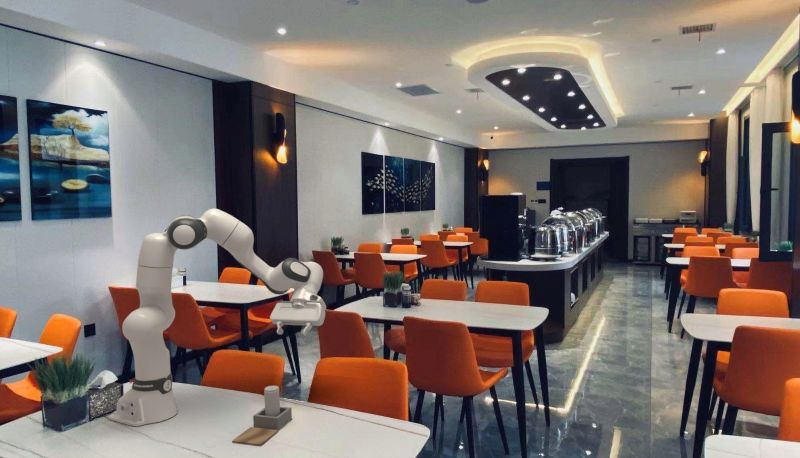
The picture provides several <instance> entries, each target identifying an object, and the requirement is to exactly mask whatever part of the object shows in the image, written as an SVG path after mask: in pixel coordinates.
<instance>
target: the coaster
mask: <svg viewBox="0 0 800 458" xmlns="http://www.w3.org/2000/svg"><path fill="white" fill-rule="evenodd" d="M278 433H279V430H271V429H263V428H254V426H250V427H249V428H247V429H246V430H244V431H243V432H242V433H241V434H239V435H237V436H236V437H235V438H234V439H232V442H231V443H232V444H240V445H248V446H256V447H262V446H263V445H264V444H266V443H267V442H268V441H269V440H271V438H273V437H274V436H276V434H278Z"/></svg>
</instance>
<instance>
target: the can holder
mask: <svg viewBox="0 0 800 458" xmlns="http://www.w3.org/2000/svg"><path fill="white" fill-rule="evenodd" d="M292 412H293V411H292V407H290V406H280V415H278V416H277V417H273V416H265V407H263V408H261V409H260V410H259V411H258V412H256V413H255V414H254V415H253V416H252V418H253V419H252V420H253V421H252V422H253V427H254V428H263V429H271V430H278V431H280V430H281V429H282V428H283V427H285V426H286V425H287V424H288V423H289V422H290V421H292V420H293V418H292V417H293V414H292Z"/></svg>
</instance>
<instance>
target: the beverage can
mask: <svg viewBox="0 0 800 458" xmlns="http://www.w3.org/2000/svg"><path fill="white" fill-rule="evenodd" d="M263 393H264V394H263V395H264V396H263V397H264V408H265V416H273V417H277V416H278V415H280V407H281V402H280V400H281V399H280V398H281V397H280V388H279V385H268V386H266V387H264V391H263Z"/></svg>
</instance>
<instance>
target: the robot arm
mask: <svg viewBox="0 0 800 458" xmlns="http://www.w3.org/2000/svg"><path fill="white" fill-rule="evenodd" d="M206 239H209V240H211V241H212V242H214V243H216V244H217V245H219V246H220V247H222V248H224V249H225V250H226V251H228V252H229V254H231V256H233V258H234V260H235V261H236V262H238V263H239V265H241V266H242V268H244V269H246V270H247V271H248V272H250V274H252V275H253V276H255V277H256V278H257V279H258V280H260V282H261V283H262V284H263V286H265V288H266V289H267V290H268V291H269V292H271V294H274V295H284V294H285V293H287V292H288V291H289V290H290V289H291V288H293V289H294V290H293V292H292V295H291V298H290V300H281V301H279V302H277V303H276V304H275V306H274V308H273V310H272V312H271V314H270V315H269V320H270V321H271V323H272V324H273V325H276V327H277V330H276V333H277V335H283V334H284V329H283V328H282V327H283V326H285V325H286V326H288V325H289V326H305V327H304V328H301V330H300V335H301V336H304V337H305V336H307V334H308V332H309V331H310V330H311V329H312V328H313V327H316V326H317V327H320V326H322V325H323V324H324V321H325V319H326V309H327V305H326V303H325V301H324V300H323V298H322V297H321V296H319V295H318V292H319V291H320V290H321V286H322V282H323V279H324V270H323V268H322V266H321V265H320V264H319V263H317V262H314V261H301V260H299V259H298V258H295V257H287V258H286V259H284V260H282V261H281V262H280V263H279V264H278V265H277V266H276V267H272V266H270V265H268V264H267V263H266V262H265V261H264V260H262V259H261V258H260V257H259V256H258V255H257V254H256V253H255V252H254V242H255V237H254V233H253V231H252V229H251V228H250V227H249V226H248V225H246V224H245V223H244V222H242V221H241V220H240V219H237V218H236V217H234V215H232V214H229V213H227V212H226V211H223V210H221V209H218V208H210V209H207V210H206V211H205V212H204V213H203V214H202V215H201V216H200V217H198V218H197V217H194V216H192V215H188V214H182V215H179V216H177V217H175V218H174V219H172V220H171V222H170V223H169V225H168V226H167V228H166V229H165V230H164V232H154V233H153V232H152V233H150V234H147V235H145V237H144V238H143V240H142V243H141V246H140V250H139V254H138V260H137V268H136V270H137V271H136V280H135V281H136V282H135V289H136V290H137V292H138V295H139V307H138V308H137V309H135V310H133V311H131V312H130V313H129V314H128V315H127V316H126V317H125V319H124V321H123V322H122V327H121V330H122V334H123V336H124V337H125V338H126V339H127V341H128V342H129V344H130V347H131V350H132V354H133V359H134V373H135V376H134V378H132V379H129V381H128V382H129V384H132V386H131V388H130V389H129V390H128V391H126V392H125V393H123V395H122V396H121V397H120V398H119V399H118V400H117V403H116V410H114V411H113V412H112V413H111V414H110V415H109V416H108V419H109V420H110V421H113V422H114V421H115V422H118V423H121V424H125V425H128V426H133V427H140V426H144V425H149V424H156V423H159V422H163V421H166V420H168V419H171V418H172V417H174V416H175V415H176V414H178V408H177V404H176V401H175V397H174V392H173V374H172V371H171V358H170V357H171V356H170V350H169V349H168V348H167V346H166V344H165V339H164V335H163V334H164V331H166V330H167V329H168V328H170V326H171V325H172V324H173V322H174V320H175V317H176V310H175V307H174V306H173V305H174V304H173V297H172V281H173V269H174V258H175V254H176V252H177V250H178V249H179V250H184V251H185V250H190V249H193V248H194V247H197V245H198V244H200V243H201V242H203V241H204V240H206Z"/></svg>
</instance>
